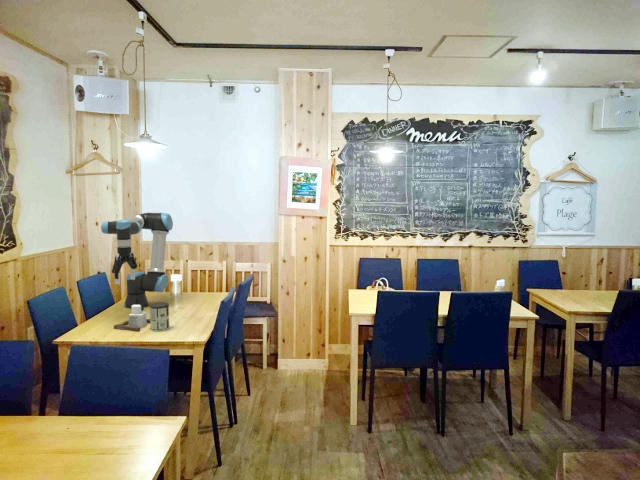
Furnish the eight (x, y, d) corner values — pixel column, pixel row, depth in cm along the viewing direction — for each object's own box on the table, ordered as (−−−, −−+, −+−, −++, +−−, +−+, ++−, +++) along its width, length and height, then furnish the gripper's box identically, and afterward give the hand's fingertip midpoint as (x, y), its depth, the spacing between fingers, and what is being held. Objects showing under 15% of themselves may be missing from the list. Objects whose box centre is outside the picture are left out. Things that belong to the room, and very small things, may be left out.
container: (133, 324, 268) (133, 302, 267) (146, 324, 268) (146, 302, 267) (128, 327, 260) (128, 305, 259) (142, 328, 261) (141, 305, 259)
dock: (134, 320, 275) (134, 317, 275) (157, 323, 271) (157, 320, 271) (113, 328, 258) (113, 325, 258) (137, 331, 254) (137, 328, 254)
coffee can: (159, 325, 267) (159, 301, 266) (173, 327, 263) (172, 303, 262) (146, 329, 258) (145, 305, 256) (159, 332, 254) (159, 307, 252)
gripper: (132, 243, 280) (133, 277, 282) (103, 249, 256) (105, 285, 258) (142, 244, 278) (143, 278, 281) (115, 249, 254) (116, 286, 257)
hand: (125, 281), depth 270 cm, fingers open, 13 cm apart
